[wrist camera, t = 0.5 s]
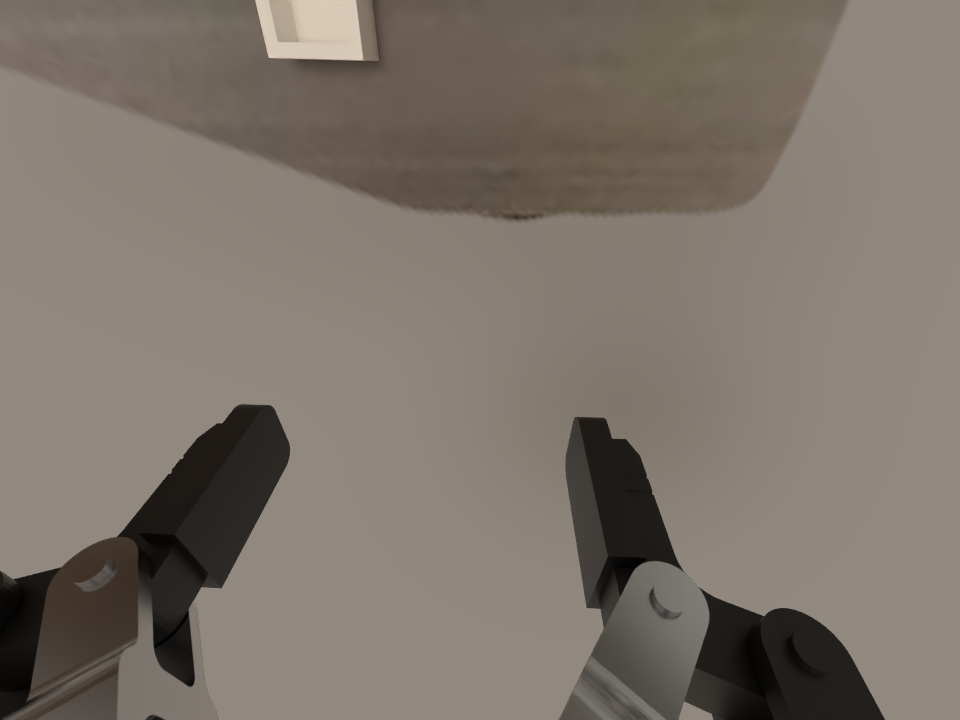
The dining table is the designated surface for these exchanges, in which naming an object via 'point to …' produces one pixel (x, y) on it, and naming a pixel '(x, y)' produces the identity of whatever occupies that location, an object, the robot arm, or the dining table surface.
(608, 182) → the dining table surface
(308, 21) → the dish
